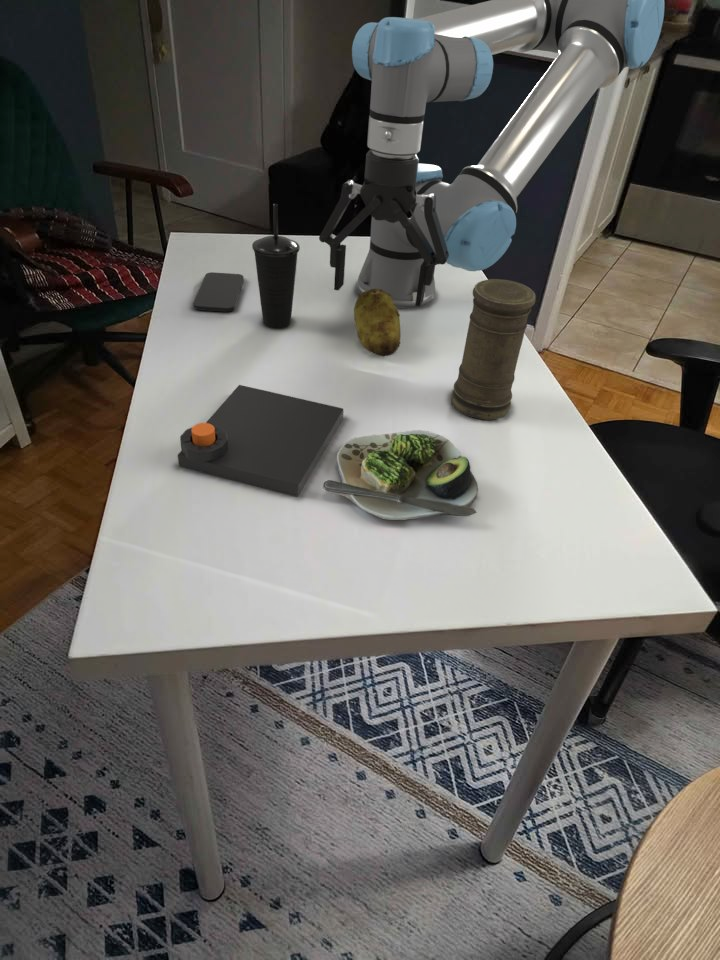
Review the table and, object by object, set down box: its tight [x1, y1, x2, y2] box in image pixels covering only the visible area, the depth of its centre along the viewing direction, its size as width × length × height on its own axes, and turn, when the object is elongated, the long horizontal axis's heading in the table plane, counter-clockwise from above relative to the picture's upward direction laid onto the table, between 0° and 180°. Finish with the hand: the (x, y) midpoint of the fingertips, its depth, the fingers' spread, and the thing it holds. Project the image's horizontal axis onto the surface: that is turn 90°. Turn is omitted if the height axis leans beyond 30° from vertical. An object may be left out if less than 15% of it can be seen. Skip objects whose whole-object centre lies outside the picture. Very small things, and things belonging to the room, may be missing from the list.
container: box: [450, 278, 536, 421], centre depth 92 cm, size 9×9×18 cm
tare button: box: [191, 422, 216, 446], centre depth 80 cm, size 3×3×2 cm
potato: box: [353, 289, 402, 357], centre depth 108 cm, size 8×13×8 cm, turn 176°
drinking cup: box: [251, 203, 301, 330], centre depth 107 cm, size 8×8×20 cm
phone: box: [192, 271, 245, 313], centre depth 121 cm, size 7×1×15 cm
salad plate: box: [322, 429, 479, 521], centre depth 80 cm, size 19×18×5 cm
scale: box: [177, 384, 344, 497], centre depth 86 cm, size 18×16×4 cm
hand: (378, 295), depth 105 cm, fingers open, 13 cm apart
